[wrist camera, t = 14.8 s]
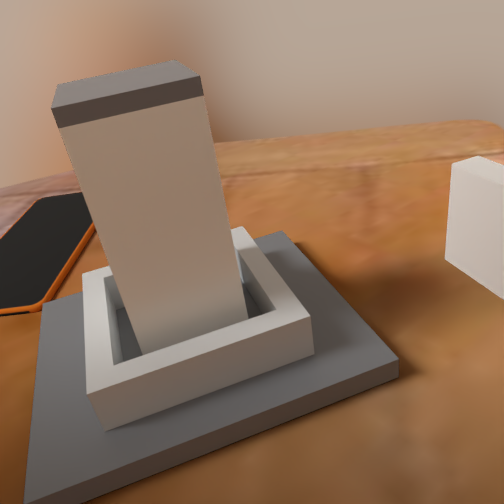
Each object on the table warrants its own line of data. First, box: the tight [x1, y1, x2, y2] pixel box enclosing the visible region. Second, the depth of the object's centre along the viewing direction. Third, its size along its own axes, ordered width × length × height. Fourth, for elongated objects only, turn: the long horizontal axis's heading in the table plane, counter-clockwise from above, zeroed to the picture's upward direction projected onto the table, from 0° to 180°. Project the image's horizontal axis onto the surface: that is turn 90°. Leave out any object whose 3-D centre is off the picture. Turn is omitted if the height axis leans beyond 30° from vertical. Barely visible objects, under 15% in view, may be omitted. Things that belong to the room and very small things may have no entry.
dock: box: [23, 226, 399, 504], centre depth 21 cm, size 14×12×3 cm
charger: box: [51, 60, 248, 355], centre depth 19 cm, size 4×4×11 cm
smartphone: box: [0, 192, 96, 316], centre depth 34 cm, size 8×17×1 cm, turn 179°
